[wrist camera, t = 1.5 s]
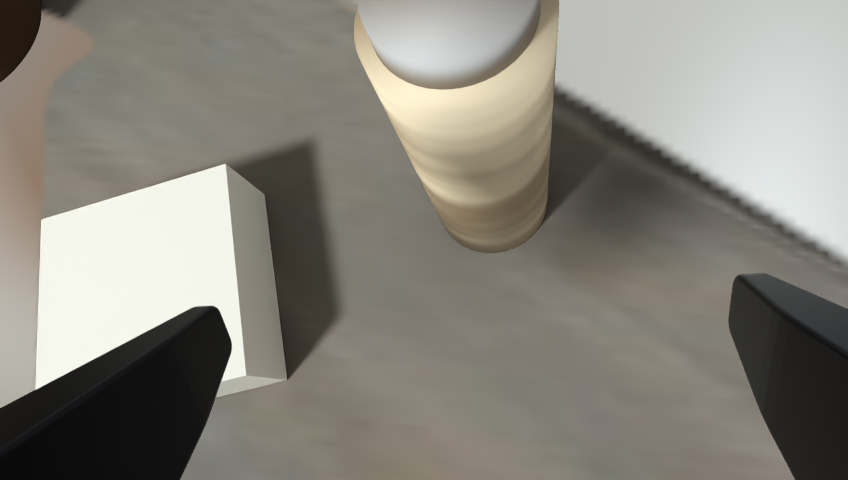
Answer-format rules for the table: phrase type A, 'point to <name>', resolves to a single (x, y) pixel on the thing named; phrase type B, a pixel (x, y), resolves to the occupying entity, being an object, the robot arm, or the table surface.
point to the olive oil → (17, 32)
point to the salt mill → (469, 106)
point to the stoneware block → (161, 274)
